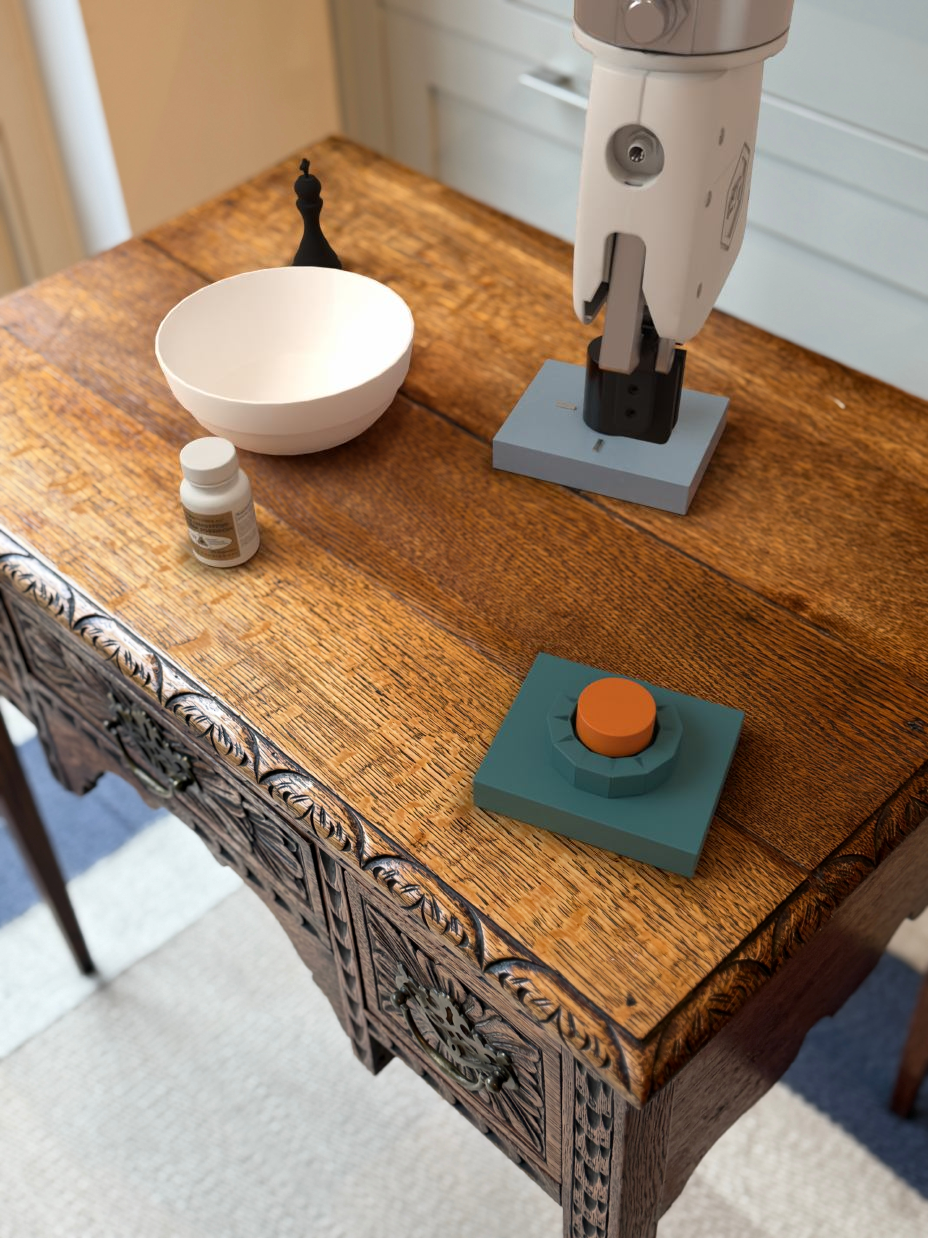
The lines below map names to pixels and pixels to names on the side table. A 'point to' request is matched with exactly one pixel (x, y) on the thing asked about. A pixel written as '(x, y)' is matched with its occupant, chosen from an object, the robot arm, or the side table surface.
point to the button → (615, 717)
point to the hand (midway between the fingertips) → (638, 428)
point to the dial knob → (593, 387)
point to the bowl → (287, 356)
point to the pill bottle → (217, 503)
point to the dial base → (607, 444)
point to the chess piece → (312, 224)
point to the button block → (610, 769)
